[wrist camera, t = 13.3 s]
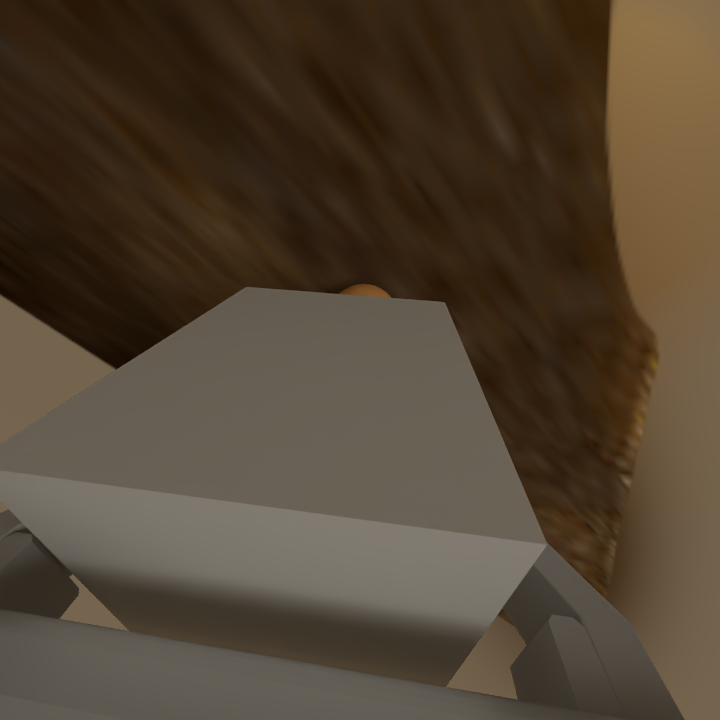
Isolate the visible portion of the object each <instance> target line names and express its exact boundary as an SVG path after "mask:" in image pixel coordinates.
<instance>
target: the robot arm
mask: <svg viewBox="0 0 720 720" xmlns="http://www.w3.org/2000/svg"><path fill="white" fill-rule="evenodd" d="M546 543H547V542H546ZM71 575H72V573H71V572H70V571H69V570H68V569H67V568H66V566H65V565H64V564H63V563H62V562H61V561H60V560H59V559H58V558H57V557H56V556H55V555H54V554H53V553H52V552H51V551H50V550H49V549H48V548H47V547H46V546H45V545H44V544H43V543H42V542H41V541H40V540H39V539H38V538H37V537H36V536H35V535H34V534H33V533H32V532H31V531H30V530H29V529H28V528H27V527H26V526H25V525H24V524H23V523H22V522H21V521H20V520H19V519H18V518H17V517H16V516H15V515H14V514H13V513H12V512H11V511H10V510H9V509H8V510H6V511H4V512H2V513H0V720H684V718H683V716H682V715H681V713H680V711H679V709H678V707H677V705H676V704H675V702H674V700H673V698H672V697H671V695H670V693H669V691H668V689H667V688H666V686H665V684H664V682H663V680H662V679H661V677H660V675H659V673H658V671H657V670H656V668H655V666H654V664H653V663H652V661H651V659H650V657H649V655H648V654H647V652H646V650H645V648H644V647H643V645H642V643H641V641H640V639H639V638H638V636H637V634H636V632H635V630H634V629H633V627H632V625H631V624H630V623H629V622H628V621H627V620H626V619H625V618H624V617H623V616H622V615H621V614H620V613H619V612H618V611H617V610H616V609H615V608H614V607H612V606H611V605H610V604H609V603H608V602H607V601H606V600H605V599H604V598H603V597H602V596H601V595H600V594H599V593H598V592H597V591H596V590H595V589H594V588H593V587H592V586H591V585H590V584H589V583H588V582H587V581H586V580H585V579H584V578H583V577H582V576H581V575H580V574H579V573H578V572H577V571H575V570H574V569H573V568H572V567H571V566H570V565H569V564H568V563H567V562H566V561H565V560H564V559H563V558H562V557H561V556H560V555H559V554H558V553H557V552H556V551H555V550H554V549H553V548H552V547H551V546H550V545H549V544H548V543H547V546H546V547H545V549H544V550H543V552H542V553H541V554H540V556H539V557H538V558H537V560H536V561H535V563H534V564H533V565H532V567H531V568H530V570H529V571H528V572H527V574H526V575H525V577H524V578H523V579H522V581H521V582H520V584H519V585H518V586H517V588H516V589H515V591H514V592H513V593H512V595H511V596H510V598H509V599H508V600H507V602H506V603H505V605H504V606H503V607H502V608H503V609H504V611H505V612H506V614H507V615H508V617H509V618H510V620H511V621H512V623H513V625H514V626H515V628H516V629H517V631H518V632H519V634H520V635H521V636H522V638H523V640H524V641H525V643H526V644H527V646H526V647H525V648H524V650H523V651H522V652H521V653H520V655H519V656H518V657H517V658H516V660H515V661H514V662H513V664H512V665H511V667H510V668H511V673H512V676H513V681H514V685H515V689H516V693H517V698H518V700H516V699H511V698H505V697H499V696H493V695H487V694H482V693H477V692H471V691H465V690H459V689H454V688H448V687H443V686H437V685H431V684H426V683H420V682H414V681H409V680H403V679H397V678H392V677H386V676H380V675H374V674H369V673H363V672H357V671H352V670H346V669H340V668H335V667H329V666H323V665H318V664H312V663H306V662H301V661H295V660H289V659H284V658H278V657H272V656H267V655H261V654H255V653H250V652H244V651H238V650H233V649H227V648H221V647H216V646H210V645H204V644H199V643H193V642H187V641H182V640H176V639H170V638H165V637H159V636H153V635H148V634H142V633H136V632H131V631H124V630H119V629H114V628H107V627H102V626H97V625H91V624H85V623H80V622H74V621H68V620H62V619H59V618H60V617H61V616H62V615H63V613H64V612H65V611H66V610H67V608H68V607H69V606H70V605H71V603H72V602H73V601H74V600H75V598H76V597H77V596H78V593H79V588H78V587H77V586H76V585H75V583H74V582H73V581H72V580H71V579H70V578H69V577H70V576H71Z"/></svg>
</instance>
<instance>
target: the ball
mask: <svg viewBox="0 0 720 720" xmlns="http://www.w3.org/2000/svg"><path fill="white" fill-rule="evenodd" d="M339 294H344V295H357V296H370V297H383V298H391V297H390V296H389V295H388V294H387V293H386V292H385V291H384V290H382V289H381V288H379V287H376V286H374V285H369V284H357V285H353V286H350V287H348V288H346V289H344V290H343V291H341V292H340V293H339Z"/></svg>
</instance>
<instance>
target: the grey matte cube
mask: <svg viewBox="0 0 720 720" xmlns="http://www.w3.org/2000/svg"><path fill="white" fill-rule="evenodd" d="M0 501H1V502H2V503H3V504H4V505H5V506H6V507H7V508H8V509H9V510H10V511H11V512H12V513H13V514H14V515H15V516H16V517H17V518H18V519H19V520H20V521H21V522H22V523H23V524H24V525H25V526H26V527H27V528H28V529H29V530H30V531H31V532H32V533H33V534H34V535H35V536H36V537H37V538H38V539H39V540H40V541H41V542H42V543H43V544H44V545H45V546H46V547H47V548H48V549H49V550H50V551H51V552H52V553H53V554H54V555H55V556H56V557H57V558H58V559H59V560H60V561H61V562H62V563H63V564H64V565H65V566H66V568H67V569H68V570H69V571H70V572H71V573H72V574H73V575H74V576H76V578H77V579H78V580H79V581H80V582H81V583H82V584H84V586H85V587H86V588H87V589H88V590H89V591H90V592H91V593H92V594H93V595H94V596H95V597H96V598H97V599H98V600H99V601H100V602H101V603H102V604H103V605H104V606H105V607H106V608H107V609H108V610H109V611H110V612H111V613H112V614H113V615H114V616H115V617H116V618H117V619H118V620H119V621H120V622H121V623H122V624H123V625H124V626H125V627H126V628H127V629H128V630H129V631H131V632H136V633H142V634H148V635H153V636H159V637H165V638H170V639H176V640H182V641H187V642H193V643H199V644H204V645H210V646H216V647H221V648H227V649H233V650H238V651H244V652H250V653H255V654H261V655H267V656H272V657H278V658H284V659H289V660H295V661H301V662H306V663H312V664H318V665H323V666H329V667H335V668H340V669H346V670H352V671H357V672H363V673H369V674H374V675H380V676H386V677H392V678H397V679H403V680H409V681H414V682H420V683H426V684H431V685H437V686H443V687H446V686H447V684H448V683H449V681H450V680H451V679H452V677H453V676H454V674H455V673H456V672H457V670H458V669H459V668H460V666H461V665H462V663H463V662H464V661H465V659H466V658H467V656H468V655H469V653H470V652H471V651H472V649H473V648H474V647H475V645H476V644H477V642H478V641H479V640H480V638H481V637H482V635H483V634H484V633H485V631H486V630H487V628H488V627H489V626H490V624H491V623H492V621H493V620H494V619H495V617H496V616H497V614H498V613H499V612H500V610H501V609H502V607H503V606H504V605H505V603H506V602H507V600H508V599H509V598H510V596H511V595H512V593H513V592H514V591H515V589H516V588H517V586H518V585H519V584H520V582H521V581H522V579H523V578H524V577H525V575H526V574H527V572H528V571H529V570H530V568H531V567H532V565H533V564H534V563H535V561H536V560H537V558H538V557H539V556H540V554H541V553H542V552H543V550H544V549H545V547H546V546H547V543H546V541H545V538H544V536H543V533H542V531H541V529H540V526H539V524H538V522H537V519H536V517H535V515H534V512H533V510H532V507H531V505H530V503H529V500H528V498H527V496H526V493H525V491H524V489H523V486H522V484H521V481H520V479H519V477H518V474H517V472H516V470H515V467H514V465H513V463H512V460H511V458H510V455H509V453H508V451H507V448H506V446H505V444H504V441H503V439H502V437H501V434H500V432H499V429H498V427H497V425H496V422H495V420H494V418H493V415H492V413H491V411H490V408H489V406H488V404H487V401H486V399H485V396H484V394H483V392H482V389H481V387H480V385H479V382H478V380H477V378H476V375H475V373H474V370H473V368H472V366H471V363H470V361H469V359H468V356H467V354H466V352H465V349H464V347H463V344H462V342H461V340H460V337H459V335H458V333H457V330H456V328H455V326H454V323H453V321H452V318H451V316H450V314H449V311H448V309H447V307H446V304H445V302H435V301H422V300H409V299H396V298H383V297H370V296H357V295H344V294H331V293H318V292H305V291H293V290H280V289H267V288H254V287H245V288H244V289H242V290H241V291H239V292H238V293H236V294H234V295H233V296H231V297H230V298H228V299H227V300H225V301H223V302H222V303H220V304H219V305H217V306H216V307H214V308H212V309H211V310H209V311H208V312H206V313H205V314H203V315H202V316H200V317H198V318H197V319H195V320H194V321H192V322H191V323H189V324H187V325H186V326H184V327H183V328H181V329H180V330H178V331H176V332H175V333H173V334H172V335H170V336H169V337H167V338H165V339H164V340H162V341H161V342H159V343H158V344H156V345H154V346H153V347H151V348H150V349H148V350H147V351H145V352H143V353H142V354H140V355H139V356H137V357H136V358H134V359H132V360H131V361H129V362H128V363H126V364H125V365H123V366H121V367H120V368H118V369H117V370H115V371H114V372H112V373H110V374H109V375H107V376H106V377H104V378H103V379H101V380H99V381H98V382H96V383H95V384H93V385H92V386H90V387H89V388H87V389H85V390H84V391H82V392H81V393H79V394H78V395H76V396H74V397H73V398H71V399H70V400H68V401H67V402H65V403H63V404H62V405H60V406H59V407H57V408H56V409H54V410H52V411H51V412H49V413H48V414H46V415H45V416H43V417H41V418H40V419H38V420H37V421H35V422H34V423H32V424H30V425H29V426H27V427H26V428H24V429H23V430H21V431H20V432H18V433H16V434H15V435H13V436H12V437H10V438H8V439H7V440H5V441H4V442H2V443H1V444H0Z"/></svg>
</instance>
